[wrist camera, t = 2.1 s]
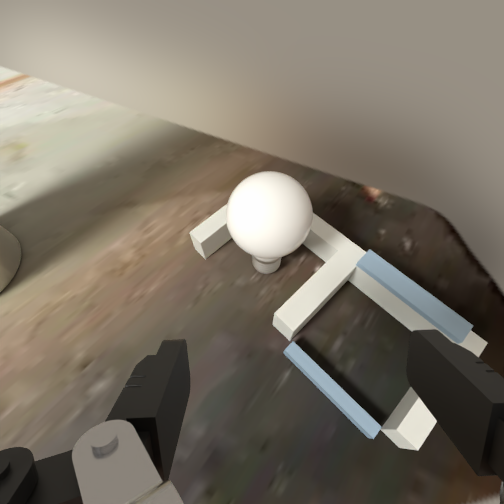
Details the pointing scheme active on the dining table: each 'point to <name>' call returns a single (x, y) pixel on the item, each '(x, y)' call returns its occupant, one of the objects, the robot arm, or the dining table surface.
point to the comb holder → (379, 290)
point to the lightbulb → (269, 217)
